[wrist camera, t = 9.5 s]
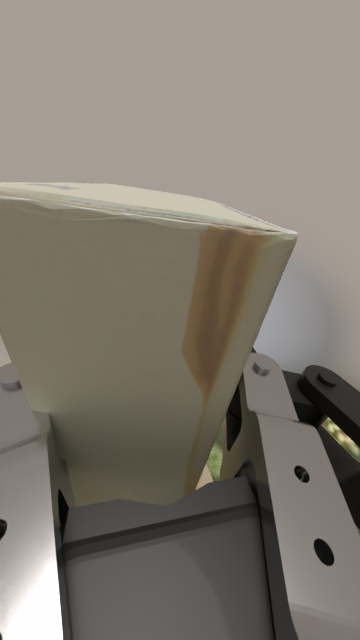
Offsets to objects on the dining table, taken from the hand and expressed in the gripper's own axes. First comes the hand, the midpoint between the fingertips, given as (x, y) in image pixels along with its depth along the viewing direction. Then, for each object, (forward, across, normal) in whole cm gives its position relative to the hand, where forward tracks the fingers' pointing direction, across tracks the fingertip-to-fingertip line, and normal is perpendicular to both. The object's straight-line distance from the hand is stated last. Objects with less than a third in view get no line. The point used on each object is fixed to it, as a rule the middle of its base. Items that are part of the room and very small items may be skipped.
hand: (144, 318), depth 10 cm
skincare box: (-3, 0, +7) cm, 8 cm away
